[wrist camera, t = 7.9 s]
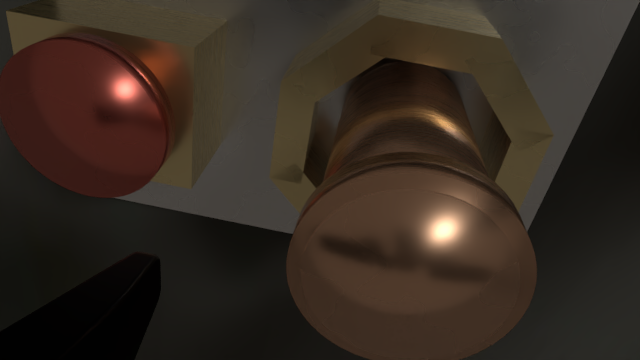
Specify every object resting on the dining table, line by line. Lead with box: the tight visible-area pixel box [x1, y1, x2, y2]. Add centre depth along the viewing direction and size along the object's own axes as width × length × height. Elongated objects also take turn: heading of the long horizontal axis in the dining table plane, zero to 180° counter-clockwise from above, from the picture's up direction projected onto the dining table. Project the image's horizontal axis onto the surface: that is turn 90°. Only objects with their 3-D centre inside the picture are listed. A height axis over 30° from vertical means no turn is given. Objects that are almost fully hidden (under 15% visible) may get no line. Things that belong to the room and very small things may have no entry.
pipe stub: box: [286, 61, 537, 360], centre depth 12 cm, size 5×5×8 cm
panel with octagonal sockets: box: [0, 0, 640, 234], centre depth 15 cm, size 17×11×5 cm, turn 81°
